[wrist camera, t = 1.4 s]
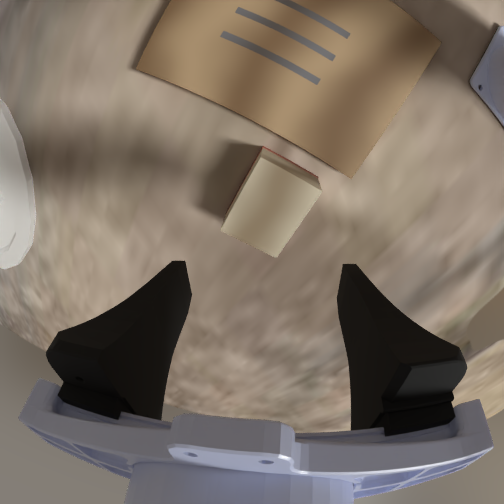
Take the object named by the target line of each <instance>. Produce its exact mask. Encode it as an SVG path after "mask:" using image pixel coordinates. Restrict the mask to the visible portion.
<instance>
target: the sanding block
mask: <svg viewBox="0 0 504 504" xmlns="http://www.w3.org/2000/svg"><path fill="white" fill-rule="evenodd" d="M321 193H322V189H321V186H320V183H319V181H318V176H316V175H314V174H313V173H311V172H309V171H307V170H306V169H304V168H302V167H300V166H299V165H297V164H295V163H293V162H292V161H290V160H288V159H286V158H284V157H283V156H281V155H279V154H277V153H275V152H273V151H271V150H270V149H268V148H266V147H264V146H263V147H262V149H261V150H260V152H259V154H258V156H257V157H256V159H255V161H254V163H253V165H252V166H251V168H250V170H249V172H248V174H247V175H246V177H245V179H244V181H243V183H242V184H241V186H240V188H239V190H238V192H237V194H236V195H235V197H234V199H233V201H232V203H231V205H230V206H229V208H228V210H227V212H226V216H225V219H224V222H223V224H222V227H221V230H220V231H222V232H224V233H226V234H228V235H230V236H232V237H234V238H236V239H238V240H240V241H242V242H244V243H246V244H249V245H251V246H253V247H255V248H257V249H259V250H261V251H263V252H265V253H267V254H269V255H271V256H273V257H275V258H277V256H278V255H279V253H280V252H281V251H282V249H283V248H284V246H285V245H286V243H287V242H288V241H289V239H290V238H291V236H292V235H293V233H294V232H295V230H296V229H297V228H298V226H299V225H300V223H301V222H302V220H303V219H304V217H305V216H306V215H307V213H308V212H309V210H310V209H311V207H312V206H313V204H314V203H315V201H316V200H317V198H318V197H319V196H320V194H321Z"/></svg>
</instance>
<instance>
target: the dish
mask: <svg viewBox="0 0 504 504" xmlns="http://www.w3.org/2000/svg"><path fill="white" fill-rule="evenodd" d="M35 222H36V208H35V198H34V186H33V177H32V173H31V170H30V166H29V163H28V159H27V155H26V151H25V147H24V142H23V138H22V136H21V134H20V132H19V130H18V128H17V126H16V124H15V122H14V119H13V117H12V115H11V113H10V110H9V108H8V106H7V105H6V104H5V103H4V102H3V101H2V100H1V99H0V268H2V269H7V268H10V267H13V266H16V265H18V264H19V263H20V262H21V261H22V260H23V259H24V257H25V255H26V254H27V252H28V250H29V249H30V247H31V246H32V244H33V236H34V229H35Z"/></svg>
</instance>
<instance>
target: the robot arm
mask: <svg viewBox="0 0 504 504" xmlns="http://www.w3.org/2000/svg"><path fill="white" fill-rule="evenodd" d="M470 84H471V86H472V88H473V89H474V90H475V91H476V92H477V93H478V95H479V96H480V97H481V98H482V99H483V101H484V102H485V103H486V104H487V105H488V107H489V108H490V109H491V110H492V112H493V113H494V114H495V116H496V117H497V118H498V120H499V121H500V122H501V124H502V125H503V126H504V26H499V27H498V29H497V31H496V33H495V35H494V37H493V39H492V41H491V43H490V44H489V46H488V48H487V50H486V52H485V54H484V56H483V57H482V59H481V61H480V63H479V65H478V67H477V68H476V70H475V72H474V74H473V75H472V77H471V79H470ZM478 86H480V90H479V89H478ZM191 297H192V293H191V288H190V283H189V278H188V273H187V268H186V262H185V261H172V262H171V263H169V264H168V265H167V266H166V267H165V268H164V269H163V270H161V271H160V272H159V273H158V274H157V275H156V276H155V277H153V278H152V279H151V280H150V281H149V282H148V283H146V284H145V285H144V286H143V287H141V288H140V289H139V290H138V291H136V292H135V293H134V294H133V295H131V296H130V297H129V298H127V299H126V300H124V301H123V302H121V303H120V304H118V305H117V306H115V307H114V308H112V309H110V310H108V311H106V312H105V313H103V314H101V315H99V316H97V317H95V318H93V319H91V320H89V321H87V322H84V323H82V324H80V325H77V326H74V327H71V328H68V329H66V330H63V331H59V332H58V334H57V335H56V337H55V338H54V340H53V342H52V343H51V345H50V346H49V348H48V350H47V351H46V356H47V359H48V362H49V363H50V365H51V366H52V368H53V369H54V370H55V371H56V373H57V374H58V375H59V377H60V378H61V379H62V380H63V382H64V383H63V385H62V387H60V386H59V385H57V384H55V383H53V382H50V381H47V380H45V379H42V378H38V380H37V382H36V384H35V386H34V388H33V390H32V391H31V394H30V395H29V397H28V399H27V401H26V404H25V405H24V407H23V409H22V411H21V413H20V415H19V417H18V418H19V420H20V421H21V422H22V423H23V424H25V425H26V426H27V427H28V428H29V429H30V430H32V431H33V432H34V433H35V434H37V435H38V436H39V437H40V438H42V439H43V440H44V441H45V442H47V443H48V444H50V445H52V446H54V447H57V448H58V449H60V450H63V451H65V452H67V453H69V454H71V455H73V456H75V457H77V458H79V459H81V460H84V461H86V462H88V463H90V464H93V465H95V466H97V467H100V468H102V469H105V470H107V471H110V472H112V473H115V474H118V475H120V476H123V477H126V478H128V479H130V482H129V486H128V490H127V493H126V497H125V501H124V504H354V499H356V498H362V497H366V496H372V495H377V494H381V493H386V492H390V491H394V490H398V489H401V488H405V487H409V486H412V485H416V484H419V483H422V482H426V481H428V480H432V479H435V478H438V477H441V476H444V475H447V474H450V473H453V472H456V471H458V470H461V469H463V468H465V467H466V466H468V465H469V464H471V463H472V462H474V461H476V460H477V459H479V458H480V457H481V456H483V455H484V454H486V453H487V452H489V451H490V450H491V449H493V447H494V445H493V442H492V437H491V434H490V430H489V427H488V424H487V420H486V417H485V414H484V411H483V408H482V405H481V402H480V399H476V400H473V401H469V402H465V403H462V404H459V405H457V406H455V407H454V408H453V406H452V403H451V401H453V400H454V395H453V392H452V391H453V390H454V388H455V387H456V386H457V385H458V383H459V382H460V381H461V380H462V378H463V377H464V375H465V373H466V370H467V364H466V362H465V359H464V357H463V355H462V352H461V350H460V348H459V347H457V346H455V345H453V344H451V343H449V342H447V341H445V340H443V339H441V338H439V337H437V336H435V335H434V334H432V333H430V332H428V331H427V330H425V329H424V328H422V327H421V326H419V325H418V324H416V323H415V322H414V321H412V320H411V319H410V318H408V317H407V316H406V315H405V314H403V313H402V312H401V311H400V310H399V309H397V308H396V307H395V306H394V305H393V304H392V303H391V302H390V301H389V300H388V299H387V298H386V297H385V296H384V295H383V294H382V293H381V292H380V291H379V290H378V289H377V288H376V287H375V286H374V284H373V283H372V282H371V281H370V280H369V279H368V278H367V276H366V275H365V274H364V273H363V272H362V271H361V269H360V268H359V267H358V266H357V265H356V264H343V267H342V273H341V279H340V284H339V290H338V295H337V305H338V314H339V320H340V325H341V329H342V334H343V338H344V343H345V347H346V352H347V357H348V363H349V374H350V389H351V431H339V432H320V433H295V432H294V430H293V428H292V427H291V426H289V425H287V424H284V423H282V422H279V421H271V420H260V419H243V418H230V417H220V416H210V415H202V414H185V413H184V414H181V415H179V416H176V417H174V418H173V422H167V421H162V420H161V418H162V408H163V402H164V395H165V389H166V383H167V378H168V373H169V369H170V364H171V360H172V356H173V353H174V349H175V347H176V344H177V341H178V338H179V336H180V333H181V330H182V328H183V325H184V322H185V320H186V317H187V314H188V310H189V306H190V301H191Z"/></svg>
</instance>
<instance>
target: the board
mask: <svg viewBox="0 0 504 504" xmlns="http://www.w3.org/2000/svg"><path fill="white" fill-rule="evenodd" d="M441 43H442V42H441V41H440V40H439V39H438V38H436V37H435V36H434V35H433V34H432V33H431V32H430V31H429V30H427V29H426V28H425V27H424V26H423V25H422V24H420V23H419V22H418V21H417V20H415V19H414V18H413V17H412V16H410V15H409V14H408V13H407V12H405V11H404V10H403V9H401V8H400V7H399V6H397V5H396V4H394V3H393V2H392V1H390V0H171V1H170V3H169V5H168V6H167V8H166V10H165V12H164V13H163V15H162V17H161V19H160V21H159V22H158V24H157V26H156V28H155V30H154V32H153V34H152V36H151V38H150V40H149V42H148V44H147V46H146V48H145V50H144V52H143V54H142V56H141V59H140V61H139V63H138V65H137V67H136V70H139V71H142V72H145V73H147V74H150V75H153V76H155V77H158V78H160V79H163V80H165V81H168V82H170V83H173V84H175V85H178V86H180V87H182V88H185V89H187V90H189V91H192V92H194V93H196V94H198V95H201V96H203V97H205V98H207V99H209V100H212V101H214V102H216V103H218V104H220V105H222V106H224V107H226V108H228V109H231V110H233V111H235V112H237V113H239V114H241V115H243V116H245V117H246V118H248V119H250V120H252V121H254V122H256V123H258V124H260V125H262V126H264V127H266V128H267V129H269V130H271V131H273V132H275V133H276V134H278V135H280V136H282V137H284V138H285V139H287V140H289V141H291V142H292V143H294V144H296V145H298V146H299V147H301V148H303V149H304V150H306V151H308V152H309V153H311V154H313V155H314V156H316V157H318V158H319V159H321V160H322V161H324V162H326V163H327V164H329V165H330V166H332V167H334V168H335V169H337V170H338V171H340V172H341V173H343V174H344V175H346V176H347V177H349V178H350V179H352V177H353V176H354V174H355V173H356V172H357V170H358V169H359V167H360V166H361V165H362V163H363V162H364V160H365V159H366V157H367V156H368V154H369V153H370V152H371V150H372V149H373V147H374V146H375V144H376V143H377V141H378V140H379V139H380V137H381V136H382V134H383V133H384V131H385V130H386V128H387V127H388V125H389V124H390V122H391V121H392V119H393V118H394V116H395V115H396V113H397V112H398V110H399V109H400V107H401V106H402V104H403V103H404V101H405V100H406V98H407V97H408V95H409V94H410V92H411V91H412V89H413V87H414V86H415V84H416V83H417V81H418V80H419V78H420V77H421V75H422V73H423V72H424V70H425V69H426V67H427V66H428V64H429V62H430V61H431V59H432V58H433V56H434V54H435V53H436V51H437V50H438V48H439V46H440V45H441Z"/></svg>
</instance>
